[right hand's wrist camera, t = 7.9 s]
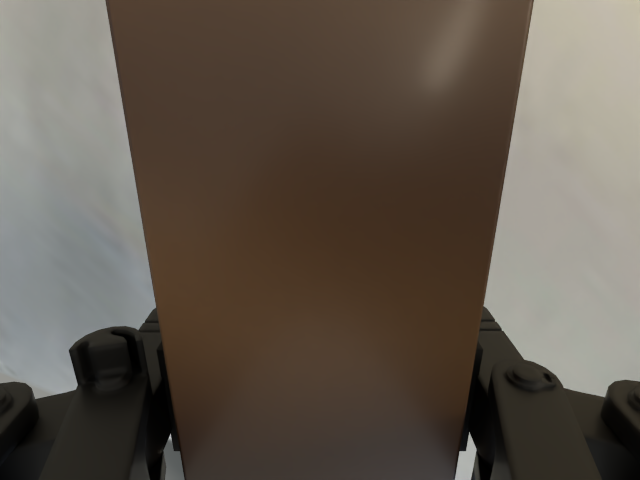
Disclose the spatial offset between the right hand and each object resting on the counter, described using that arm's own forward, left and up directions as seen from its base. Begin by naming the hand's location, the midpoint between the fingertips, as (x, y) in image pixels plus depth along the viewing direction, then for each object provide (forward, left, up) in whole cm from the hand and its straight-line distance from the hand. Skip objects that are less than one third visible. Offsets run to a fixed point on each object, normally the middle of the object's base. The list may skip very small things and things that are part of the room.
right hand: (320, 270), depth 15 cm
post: (-3, -26, -1) cm, 26 cm away
